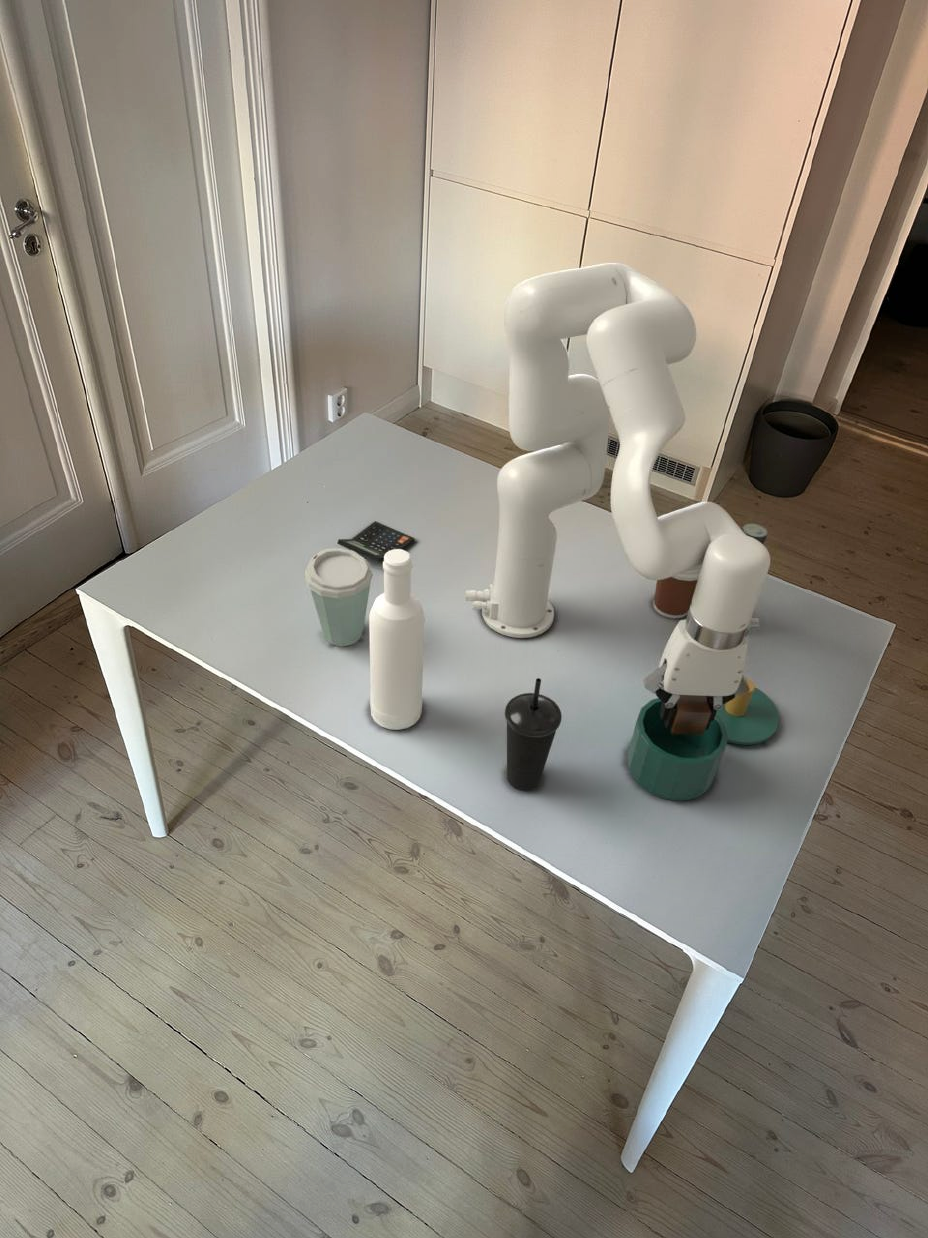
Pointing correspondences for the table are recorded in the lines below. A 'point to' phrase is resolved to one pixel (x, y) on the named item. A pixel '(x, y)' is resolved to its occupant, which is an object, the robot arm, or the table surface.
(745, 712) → the tin lid
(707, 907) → the table surface
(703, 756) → the tin
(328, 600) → the disposable coffee cup
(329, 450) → the table surface
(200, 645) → the table surface
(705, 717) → the block
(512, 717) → the drinking cup
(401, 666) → the bottle
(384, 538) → the calculator
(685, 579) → the coffee cup
